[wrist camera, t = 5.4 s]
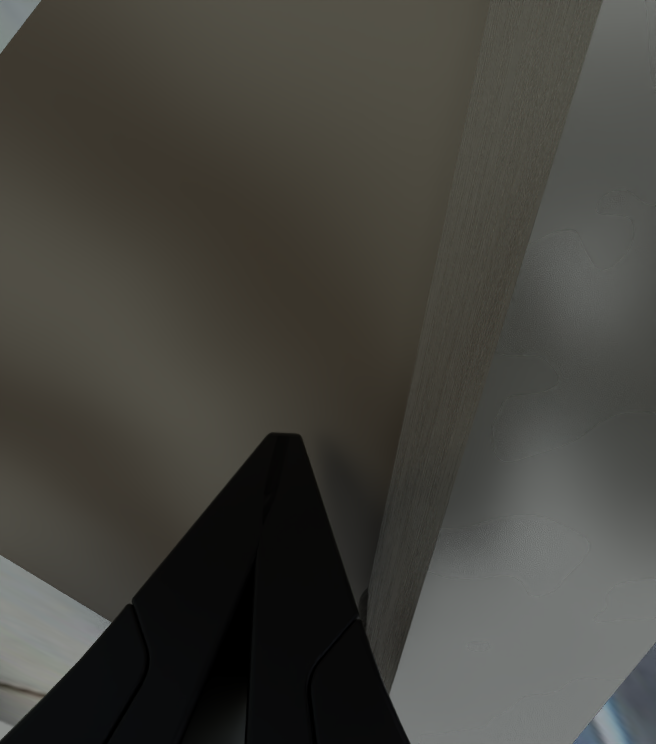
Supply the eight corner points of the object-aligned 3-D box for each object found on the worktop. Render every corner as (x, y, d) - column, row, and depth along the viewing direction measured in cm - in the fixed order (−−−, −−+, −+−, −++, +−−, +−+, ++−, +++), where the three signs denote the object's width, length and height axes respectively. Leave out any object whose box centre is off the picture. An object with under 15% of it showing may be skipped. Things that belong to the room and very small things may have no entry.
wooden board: (277, 654, 21) (266, 723, 19) (-186, 339, 14) (-271, 402, 12) (1040, 409, 12) (1151, 498, 10) (798, -861, 5) (1025, -1304, 3)
